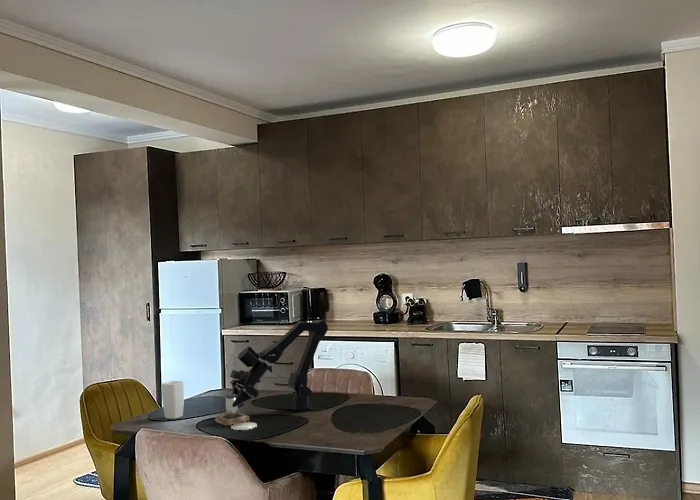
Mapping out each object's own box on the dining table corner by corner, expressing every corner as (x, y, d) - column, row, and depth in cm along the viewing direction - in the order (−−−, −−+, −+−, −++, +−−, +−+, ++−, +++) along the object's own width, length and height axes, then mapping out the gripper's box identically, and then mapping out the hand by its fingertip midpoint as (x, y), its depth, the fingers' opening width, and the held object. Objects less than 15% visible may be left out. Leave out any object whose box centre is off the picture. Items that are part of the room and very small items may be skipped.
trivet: (249, 422, 257) (249, 421, 257) (261, 427, 249) (261, 425, 249) (226, 427, 251) (226, 425, 251) (238, 432, 243) (238, 430, 243)
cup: (186, 416, 271) (185, 381, 272) (173, 420, 265) (172, 384, 265) (174, 415, 275) (172, 380, 275) (161, 419, 269) (159, 383, 269)
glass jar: (235, 419, 263) (233, 392, 264) (240, 421, 259) (239, 393, 260) (224, 421, 260) (223, 394, 261) (229, 423, 257) (228, 395, 257)
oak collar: (237, 417, 267) (237, 412, 267) (249, 421, 259) (249, 416, 259) (215, 421, 261) (215, 416, 261) (226, 425, 253) (226, 420, 253)
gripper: (233, 359, 271) (209, 389, 265) (249, 364, 255) (224, 396, 249) (252, 376, 275) (228, 405, 269) (269, 382, 259) (244, 413, 253)
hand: (230, 405), depth 260 cm, fingers open, 5 cm apart
